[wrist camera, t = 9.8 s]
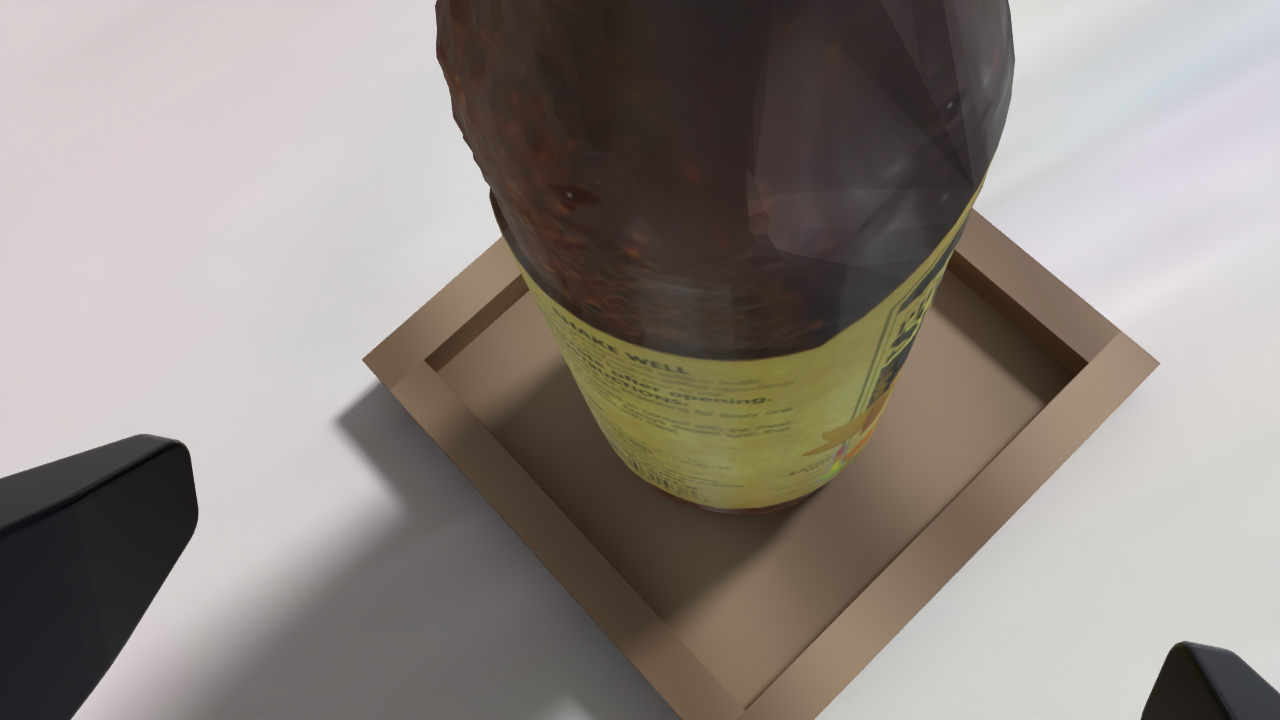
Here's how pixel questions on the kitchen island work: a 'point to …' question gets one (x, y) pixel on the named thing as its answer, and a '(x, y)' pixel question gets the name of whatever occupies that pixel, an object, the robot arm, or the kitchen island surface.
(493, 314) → the square brown tray
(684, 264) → the sauce bottle
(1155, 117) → the kitchen island surface
